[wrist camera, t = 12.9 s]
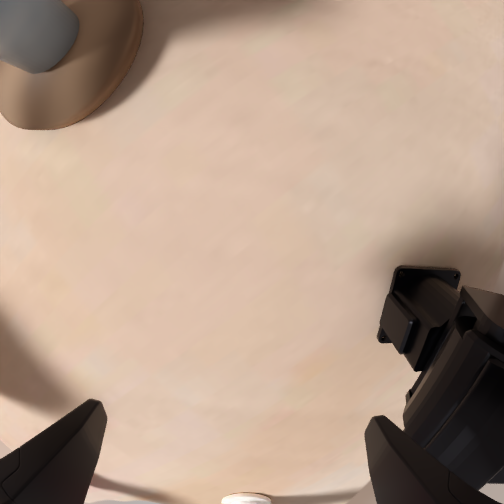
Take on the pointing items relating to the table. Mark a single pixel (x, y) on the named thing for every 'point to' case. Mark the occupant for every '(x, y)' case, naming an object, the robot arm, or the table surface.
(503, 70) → the table surface
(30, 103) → the trivet
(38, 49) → the jar
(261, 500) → the candle
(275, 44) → the table surface
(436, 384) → the robot arm
